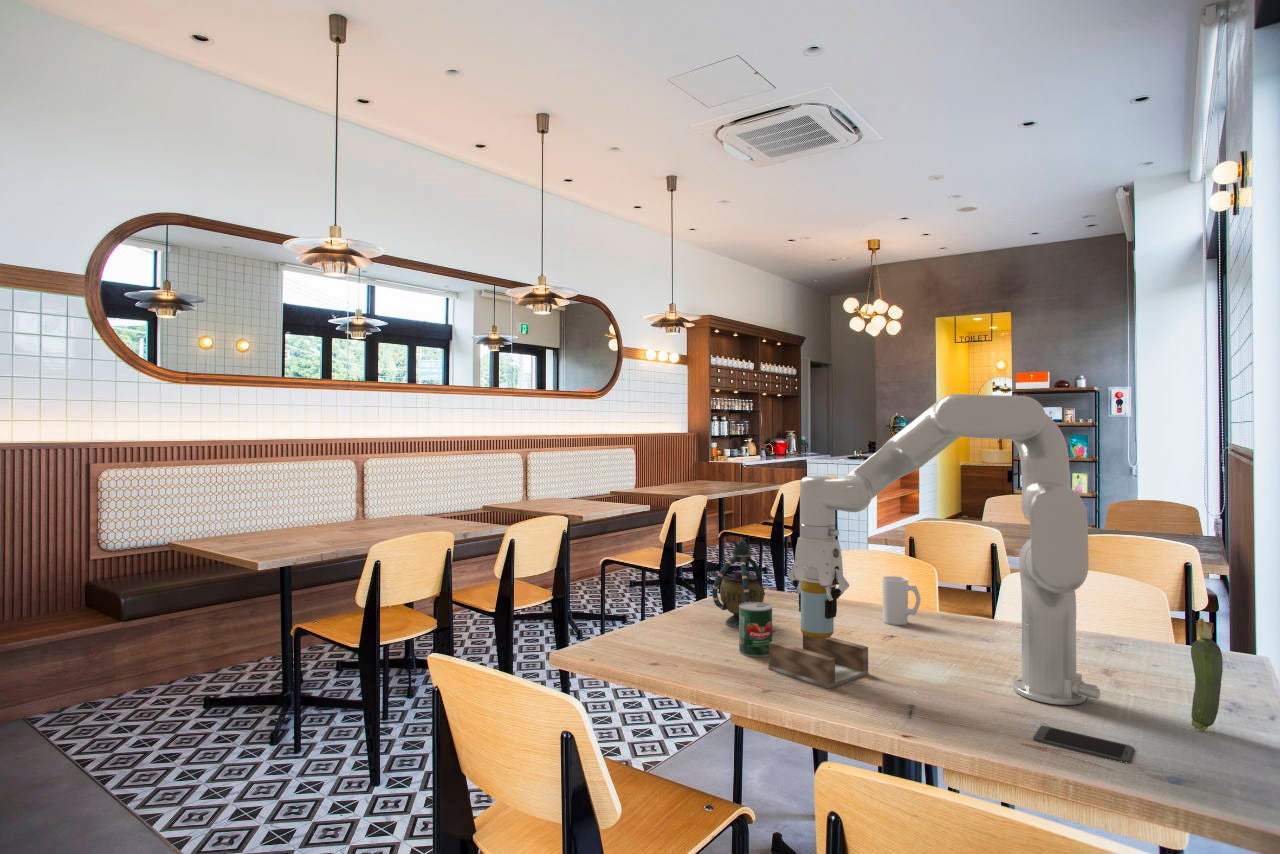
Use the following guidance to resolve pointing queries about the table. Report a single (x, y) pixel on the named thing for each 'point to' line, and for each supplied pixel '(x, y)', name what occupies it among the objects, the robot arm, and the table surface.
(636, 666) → the table surface
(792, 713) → the table surface
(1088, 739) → the cell phone
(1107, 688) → the table surface
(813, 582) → the bottle
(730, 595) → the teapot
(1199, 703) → the vegetable
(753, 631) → the canned tomato
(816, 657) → the u rest
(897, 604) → the mug
